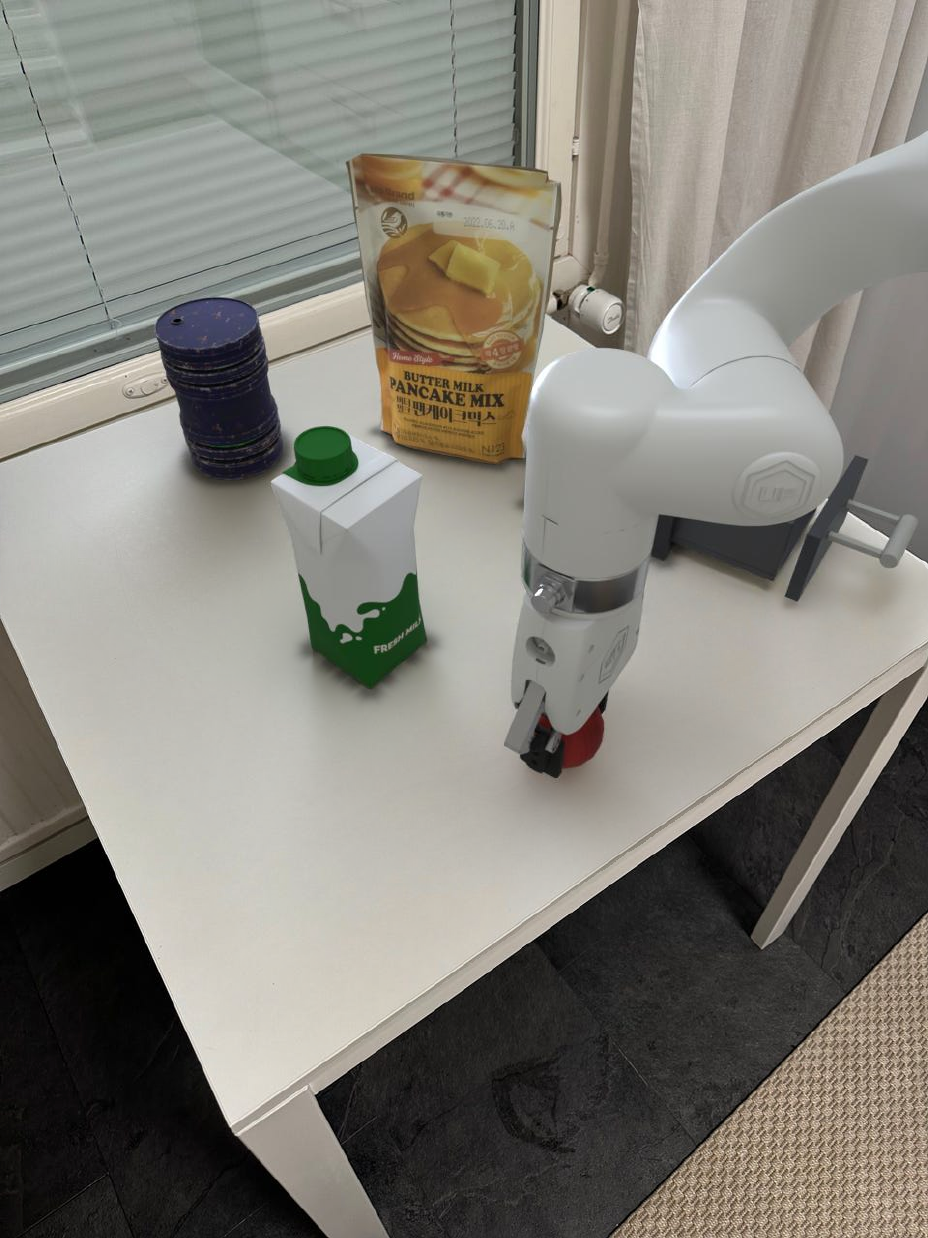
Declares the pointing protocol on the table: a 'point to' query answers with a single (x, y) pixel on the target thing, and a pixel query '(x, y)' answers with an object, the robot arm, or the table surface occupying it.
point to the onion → (581, 740)
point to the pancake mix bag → (455, 296)
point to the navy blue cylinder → (221, 386)
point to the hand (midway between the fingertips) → (563, 733)
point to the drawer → (796, 537)
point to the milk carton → (354, 550)
